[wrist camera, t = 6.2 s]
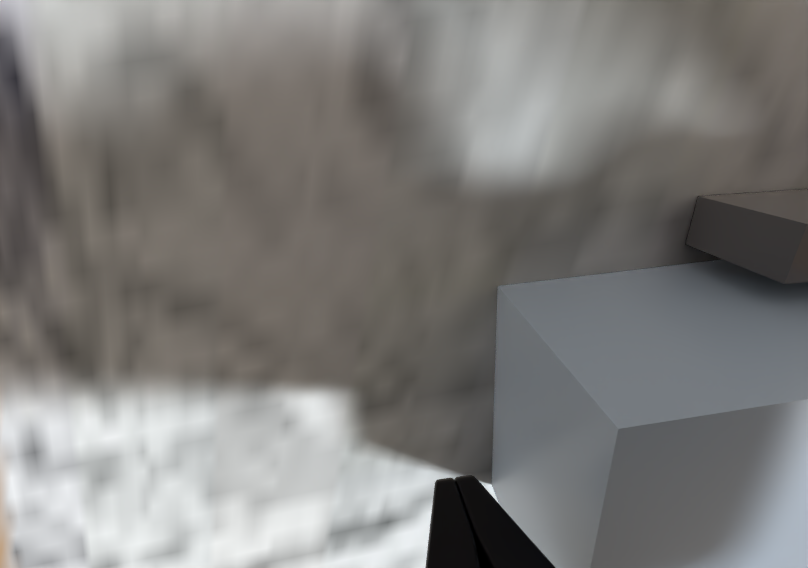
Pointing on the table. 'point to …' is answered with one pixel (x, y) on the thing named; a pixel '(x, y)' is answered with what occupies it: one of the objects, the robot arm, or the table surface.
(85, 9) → the table surface
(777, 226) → the clip bracket
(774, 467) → the blue-gray block
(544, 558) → the robot arm
